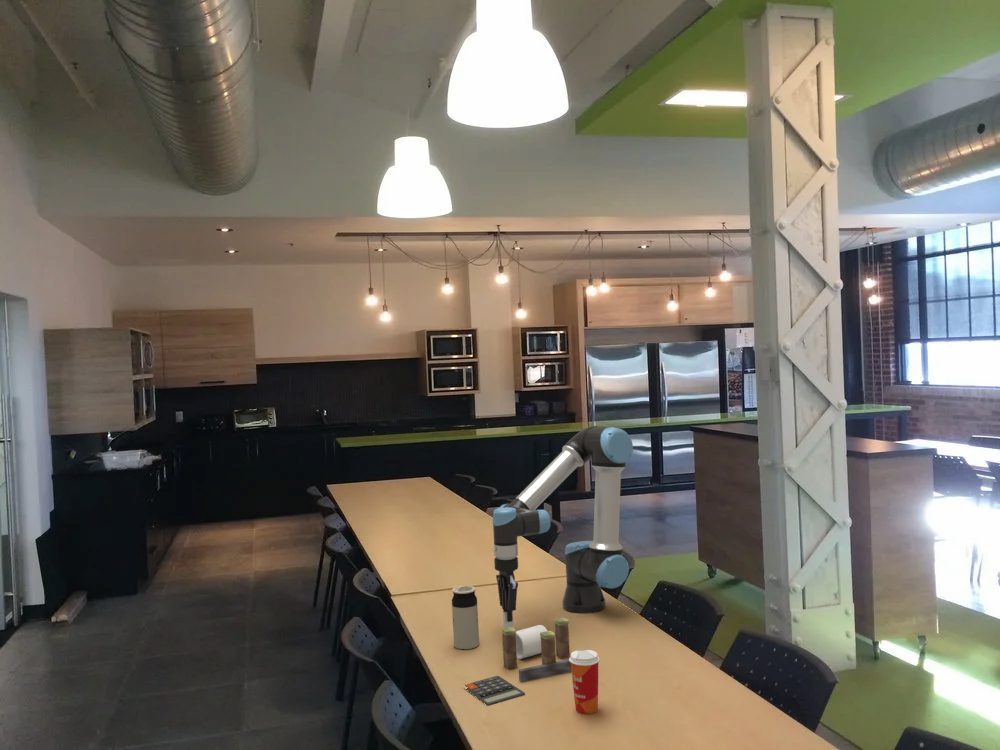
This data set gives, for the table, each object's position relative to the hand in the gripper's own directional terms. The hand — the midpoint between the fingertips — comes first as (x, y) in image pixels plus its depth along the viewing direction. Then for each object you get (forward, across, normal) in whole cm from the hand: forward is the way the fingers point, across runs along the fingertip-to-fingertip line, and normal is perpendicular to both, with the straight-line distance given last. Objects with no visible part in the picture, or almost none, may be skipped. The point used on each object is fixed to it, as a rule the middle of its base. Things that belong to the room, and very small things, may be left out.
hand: (508, 630), depth 254 cm
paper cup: (+3, +56, -2) cm, 56 cm away
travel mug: (+3, -2, -14) cm, 14 cm away
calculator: (+4, +34, -19) cm, 39 cm away
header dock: (+3, +26, 0) cm, 26 cm away
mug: (+3, +13, +1) cm, 13 cm away
